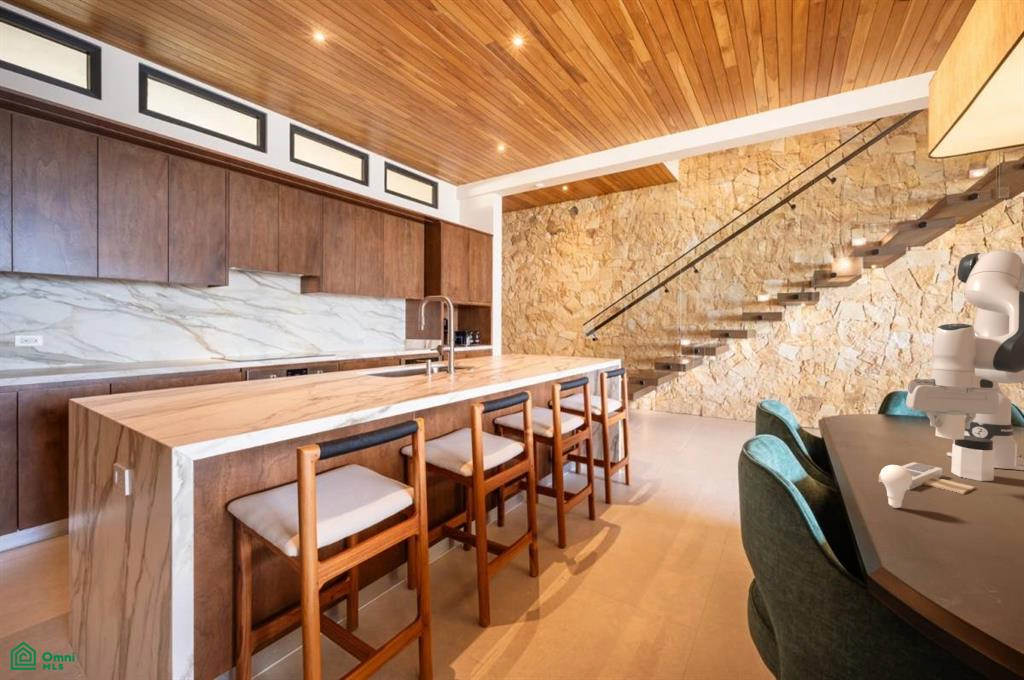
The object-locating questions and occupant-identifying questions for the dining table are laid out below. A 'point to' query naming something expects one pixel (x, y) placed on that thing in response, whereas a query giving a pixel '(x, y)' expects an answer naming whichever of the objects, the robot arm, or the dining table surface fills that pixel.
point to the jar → (973, 458)
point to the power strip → (920, 473)
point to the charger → (951, 425)
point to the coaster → (949, 485)
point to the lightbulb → (895, 483)
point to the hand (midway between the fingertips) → (949, 427)
